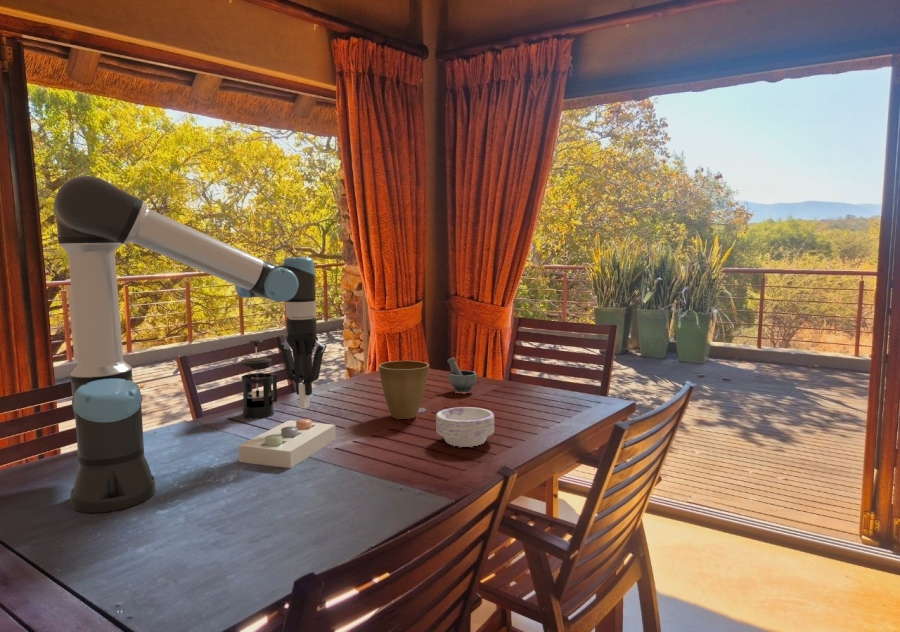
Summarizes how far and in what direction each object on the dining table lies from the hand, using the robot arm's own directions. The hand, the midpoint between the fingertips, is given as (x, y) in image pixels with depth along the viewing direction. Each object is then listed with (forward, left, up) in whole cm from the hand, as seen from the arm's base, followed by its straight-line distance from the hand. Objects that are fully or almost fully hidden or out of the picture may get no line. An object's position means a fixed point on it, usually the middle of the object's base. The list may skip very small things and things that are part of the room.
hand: (304, 406), depth 158 cm
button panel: (-7, 0, -9) cm, 12 cm away
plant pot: (+30, -16, -10) cm, 35 cm away
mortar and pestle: (+65, -24, -10) cm, 70 cm away
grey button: (-7, 0, -8) cm, 11 cm away
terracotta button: (0, 0, -8) cm, 8 cm away
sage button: (-14, 0, -8) cm, 16 cm away
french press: (+19, +27, -10) cm, 34 cm away
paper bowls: (+12, -40, -10) cm, 43 cm away
